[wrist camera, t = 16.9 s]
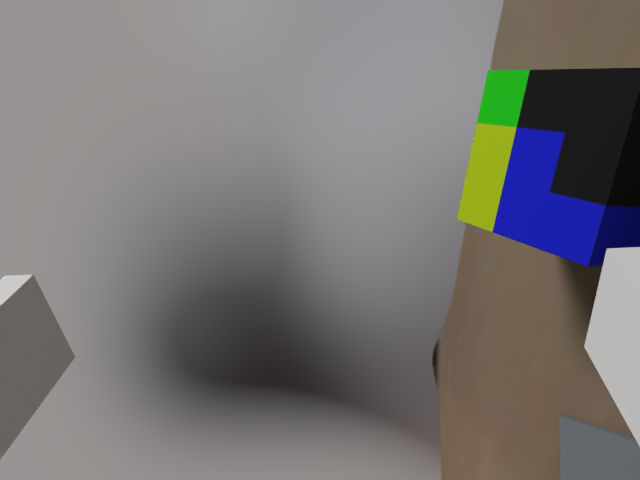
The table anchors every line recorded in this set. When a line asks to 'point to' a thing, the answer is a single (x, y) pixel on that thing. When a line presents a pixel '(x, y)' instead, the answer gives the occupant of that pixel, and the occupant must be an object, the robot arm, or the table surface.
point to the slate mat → (596, 452)
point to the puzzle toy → (558, 161)
